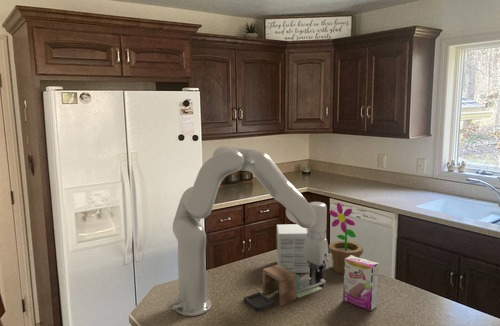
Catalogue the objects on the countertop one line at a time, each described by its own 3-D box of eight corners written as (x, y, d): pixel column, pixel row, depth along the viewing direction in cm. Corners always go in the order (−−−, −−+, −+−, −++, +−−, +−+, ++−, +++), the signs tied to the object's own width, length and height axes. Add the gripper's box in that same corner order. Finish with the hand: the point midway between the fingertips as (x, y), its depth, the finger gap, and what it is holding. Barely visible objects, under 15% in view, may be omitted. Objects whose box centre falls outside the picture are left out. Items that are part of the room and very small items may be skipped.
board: (298, 297, 148) (298, 296, 148) (281, 287, 156) (281, 286, 156) (322, 289, 154) (322, 288, 154) (305, 279, 163) (305, 278, 163)
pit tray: (257, 311, 139) (257, 307, 138) (243, 301, 146) (243, 297, 146) (273, 305, 142) (273, 301, 142) (259, 295, 150) (259, 292, 150)
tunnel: (281, 305, 143) (281, 279, 141) (263, 292, 152) (262, 268, 151) (296, 299, 147) (296, 274, 145) (277, 287, 156) (277, 264, 154)
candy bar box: (342, 301, 145) (343, 258, 142) (349, 296, 148) (350, 254, 146) (371, 312, 137) (372, 266, 135) (377, 306, 141) (379, 262, 138)
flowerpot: (321, 269, 172) (322, 202, 168) (339, 260, 182) (340, 195, 178) (351, 279, 162) (353, 207, 158) (368, 268, 173) (370, 201, 168)
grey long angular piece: (288, 296, 148) (288, 275, 146) (278, 289, 153) (278, 270, 151) (325, 282, 158) (326, 263, 157) (315, 277, 163) (315, 258, 162)
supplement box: (276, 261, 182) (276, 224, 180) (305, 260, 182) (305, 223, 179) (278, 273, 169) (278, 233, 166) (309, 273, 169) (309, 233, 166)
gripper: (295, 230, 161) (295, 273, 164) (324, 241, 147) (323, 288, 150) (309, 226, 165) (309, 269, 168) (338, 237, 151) (337, 283, 154)
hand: (315, 277), depth 159 cm, fingers closed on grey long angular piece, 2 cm apart
